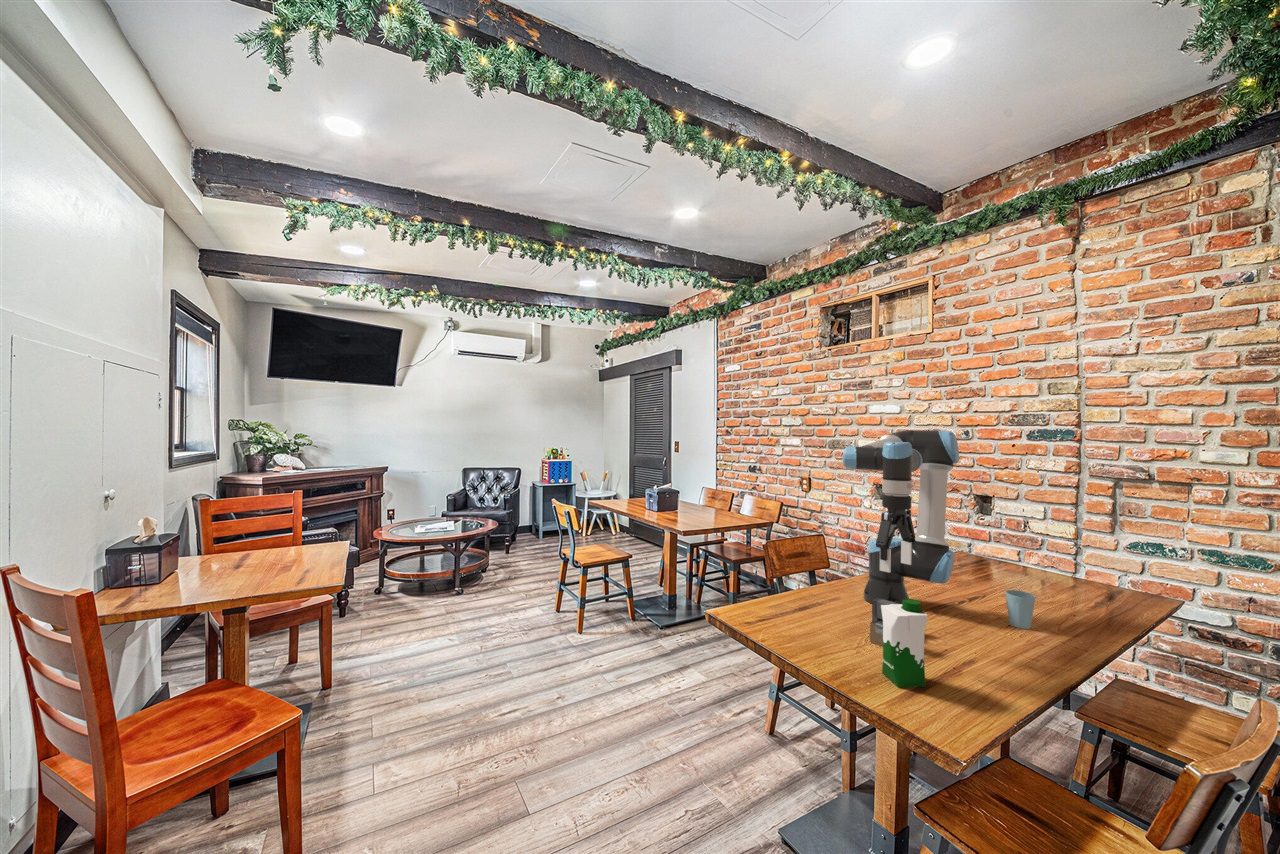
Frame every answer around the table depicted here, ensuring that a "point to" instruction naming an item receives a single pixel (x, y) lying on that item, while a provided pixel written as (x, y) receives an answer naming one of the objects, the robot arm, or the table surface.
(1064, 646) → the table surface
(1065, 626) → the table surface
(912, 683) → the milk carton
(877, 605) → the collar
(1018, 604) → the cup
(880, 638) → the rail
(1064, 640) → the table surface
